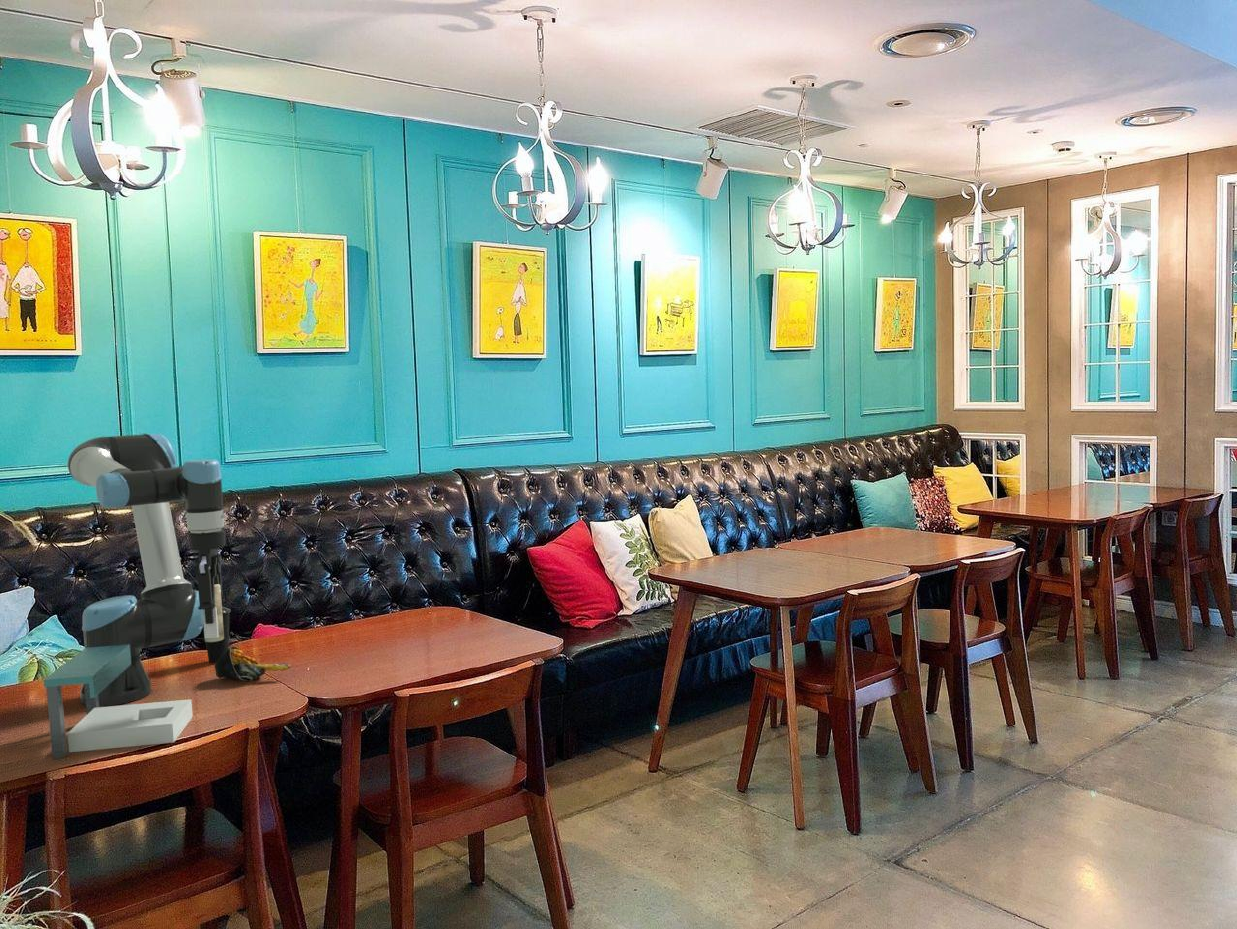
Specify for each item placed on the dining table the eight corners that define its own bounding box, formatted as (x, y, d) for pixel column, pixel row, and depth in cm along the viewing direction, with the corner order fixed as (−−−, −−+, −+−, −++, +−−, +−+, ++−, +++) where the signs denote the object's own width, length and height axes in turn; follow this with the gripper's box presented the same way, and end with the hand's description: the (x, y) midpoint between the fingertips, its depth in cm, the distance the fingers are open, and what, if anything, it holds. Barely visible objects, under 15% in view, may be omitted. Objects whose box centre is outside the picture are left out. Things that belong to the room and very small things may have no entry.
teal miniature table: (92, 720, 219) (86, 647, 217) (135, 716, 220) (129, 644, 219) (50, 760, 195) (43, 679, 194) (99, 756, 197) (92, 675, 196)
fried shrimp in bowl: (219, 655, 252) (287, 629, 253) (230, 696, 248) (298, 670, 250) (204, 651, 243) (273, 624, 244) (215, 694, 240) (285, 666, 241)
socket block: (95, 725, 215) (94, 707, 215) (192, 716, 219) (191, 699, 219) (69, 752, 200) (67, 733, 199) (173, 742, 203) (172, 723, 203)
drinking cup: (197, 665, 260) (191, 590, 258) (213, 657, 268) (208, 584, 266) (223, 665, 259) (218, 590, 257) (239, 657, 266) (234, 584, 265)
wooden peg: (207, 637, 219) (203, 584, 218) (225, 636, 220) (222, 583, 219) (202, 642, 215) (198, 588, 214) (222, 641, 216) (218, 587, 215)
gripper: (215, 535, 208) (223, 643, 210) (232, 523, 224) (239, 624, 226) (178, 537, 206) (186, 646, 208) (197, 525, 223) (204, 626, 225)
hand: (214, 634), depth 217 cm, fingers closed on wooden peg, 4 cm apart
